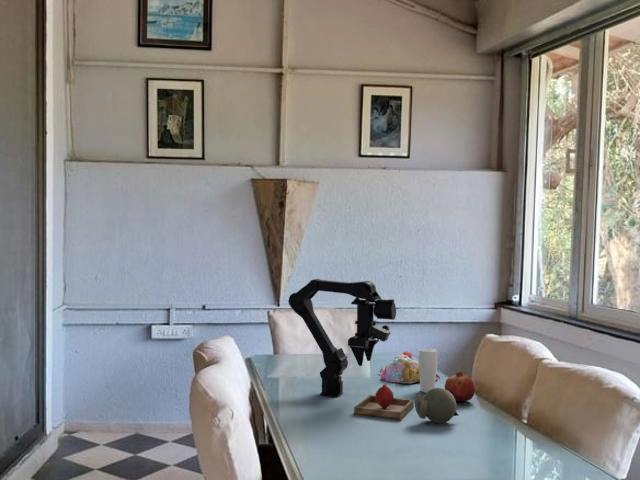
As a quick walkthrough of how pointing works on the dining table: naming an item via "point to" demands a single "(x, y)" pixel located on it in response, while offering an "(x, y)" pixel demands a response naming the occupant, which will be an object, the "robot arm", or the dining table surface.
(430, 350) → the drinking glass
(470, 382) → the fruit
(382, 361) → the dining table surface
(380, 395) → the onion
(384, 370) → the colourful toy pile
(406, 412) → the tray
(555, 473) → the dining table surface
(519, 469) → the dining table surface
